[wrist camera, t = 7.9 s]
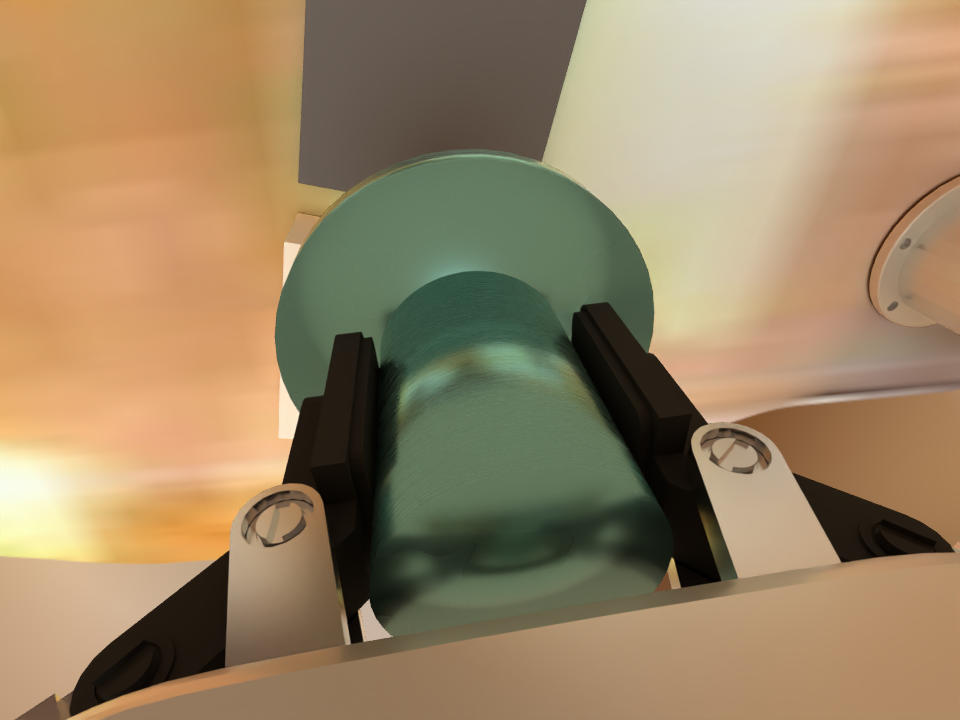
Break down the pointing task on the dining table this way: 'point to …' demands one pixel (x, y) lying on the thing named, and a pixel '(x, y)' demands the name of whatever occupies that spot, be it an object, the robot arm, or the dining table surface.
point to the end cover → (481, 386)
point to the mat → (428, 80)
